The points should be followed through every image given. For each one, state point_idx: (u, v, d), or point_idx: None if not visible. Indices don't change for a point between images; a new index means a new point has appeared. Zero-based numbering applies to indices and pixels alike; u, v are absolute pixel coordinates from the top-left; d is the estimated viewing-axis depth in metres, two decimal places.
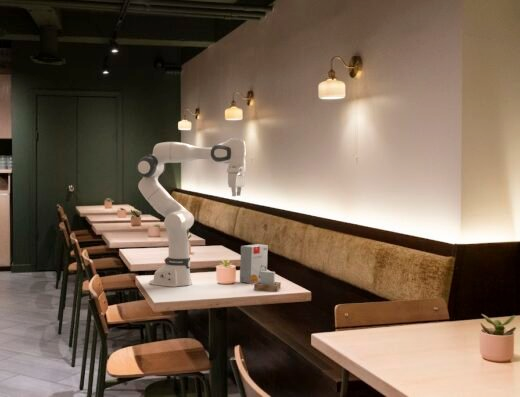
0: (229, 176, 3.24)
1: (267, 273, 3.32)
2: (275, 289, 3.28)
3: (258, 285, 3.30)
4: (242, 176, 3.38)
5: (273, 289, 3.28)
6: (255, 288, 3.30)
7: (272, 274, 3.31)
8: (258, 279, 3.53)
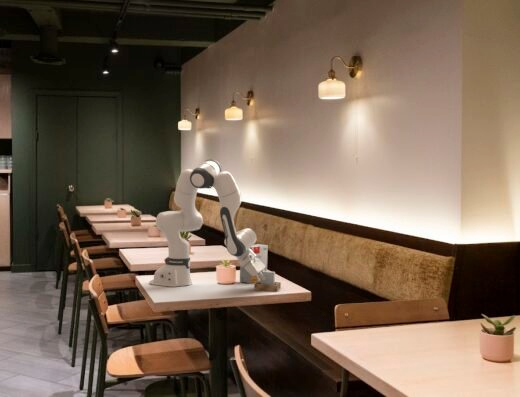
0: (246, 268, 3.26)
1: (267, 273, 3.32)
2: (275, 289, 3.28)
3: (258, 285, 3.30)
4: (257, 260, 3.41)
5: (273, 289, 3.28)
6: (255, 288, 3.30)
7: (272, 274, 3.31)
8: (258, 279, 3.53)
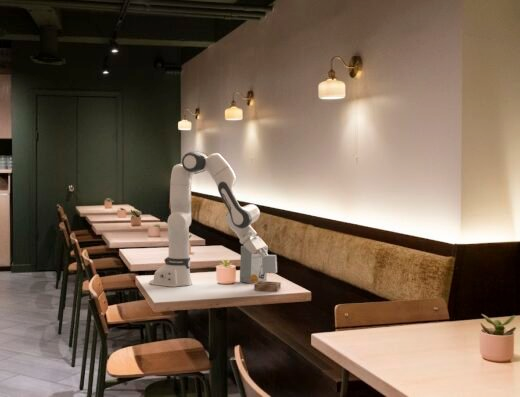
0: (245, 245, 3.24)
1: (268, 257, 3.30)
2: (275, 289, 3.28)
3: (258, 285, 3.30)
4: (258, 238, 3.39)
5: (273, 289, 3.28)
6: (255, 288, 3.30)
7: (273, 257, 3.29)
8: (258, 279, 3.53)
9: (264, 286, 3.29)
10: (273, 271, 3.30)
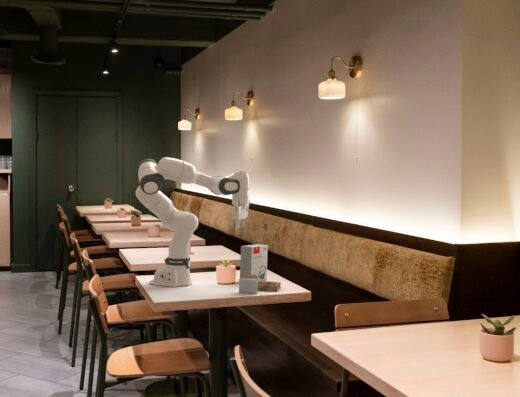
0: None
1: None
2: (275, 289, 3.28)
3: (258, 285, 3.30)
4: None
5: (273, 289, 3.28)
6: None
7: None
8: (258, 279, 3.53)
9: (264, 286, 3.29)
10: None
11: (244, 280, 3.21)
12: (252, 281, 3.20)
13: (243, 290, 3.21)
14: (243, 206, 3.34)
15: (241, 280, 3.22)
